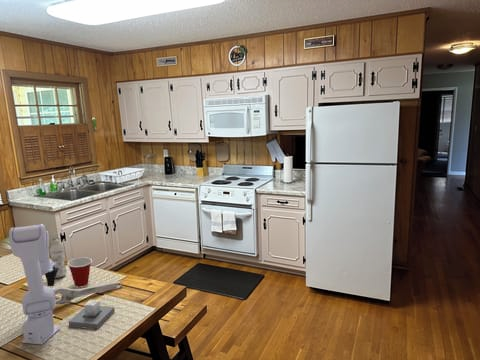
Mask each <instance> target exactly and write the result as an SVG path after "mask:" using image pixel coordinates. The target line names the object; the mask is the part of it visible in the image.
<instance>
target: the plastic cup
mask: <svg viewBox="0 0 480 360" xmlns="http://www.w3.org/2000/svg"><path fill="white" fill-rule="evenodd" d="M66 263H67V266H68V268H69V271H70V273H71V277H72V280H73V283H74V286H75V287H76V286H78V287H77V288H81V286H82V287H85V286H87V285H88V284H89V277H90V272H91V271H90V270H91V266H92V265H91V264H92V263H93V259H92V258H90V257H76V258H72V259H70V260H68V261H67V262H66Z"/></svg>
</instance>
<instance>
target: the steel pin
mask: <svg viewBox="0 0 480 360" xmlns="http://www.w3.org/2000/svg"><path fill="white" fill-rule="evenodd" d="M100 306H101V302H100V300H99V299H98V300H97V299H89V300H88V301H87V302H86V303H85V304H84V307H83V309H84V308H85V318H95V317H96V316H98V315H99V314H100V313H101V311H100Z"/></svg>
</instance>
